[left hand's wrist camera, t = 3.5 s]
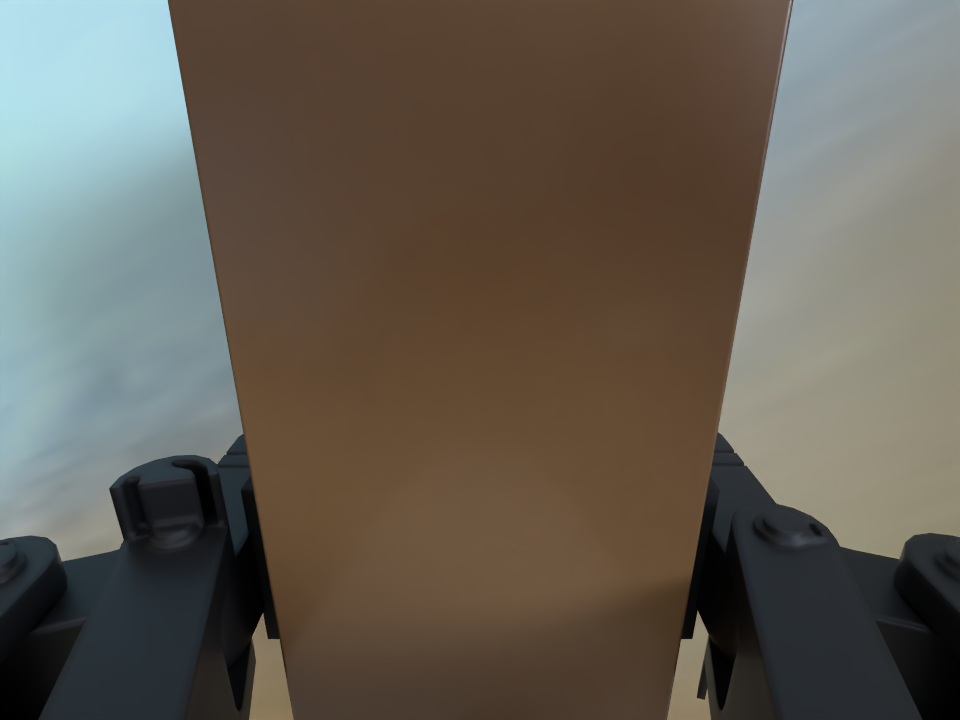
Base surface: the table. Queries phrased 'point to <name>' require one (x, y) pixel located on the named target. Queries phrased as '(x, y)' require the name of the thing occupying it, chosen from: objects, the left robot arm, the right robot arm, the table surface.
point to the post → (480, 329)
